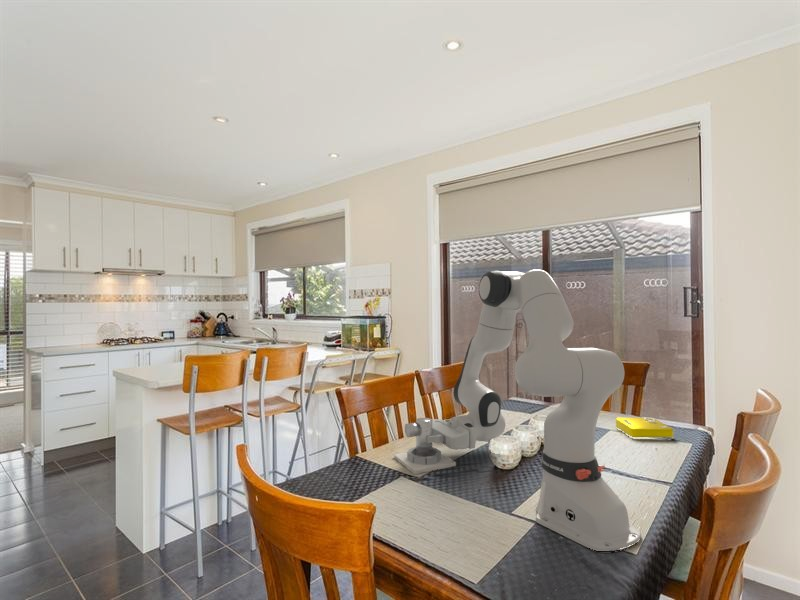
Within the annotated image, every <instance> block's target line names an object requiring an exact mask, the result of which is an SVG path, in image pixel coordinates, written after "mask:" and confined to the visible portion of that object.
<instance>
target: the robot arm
mask: <svg viewBox="0 0 800 600" xmlns="http://www.w3.org/2000/svg"><path fill="white" fill-rule="evenodd" d="M478 294H479V295H478V296H479V298H480V300H481V302H482V303H483V304H482V307H481V312H480V313H479V314H480V315H479V319H478V320H479V321H478V325H477V326H478V327H477V329H476V332H475V335H473V336H472V338H471V339H470V341H469V344H468V346H467V350H466V353H465V356H464V359H463V364H462V368H461V372H460V373H459V376H458V379H457V380H456V383H455V385H454V388H453V398H454V400H455V402H456V403H458V404H459V405H461V406H462V407H465V408H466V409H467V410H468V412H469V413H468V414H465V415H458V416H452V417H450V419H448V420H449V422H448V423H447V422H445V421H443V419H440V418H435V419H434V418H431V419H432V436H431V435H429V436H426V441H427V442H428V443H432V444H433V443H437V444H441V445H444V446H445V447H447V448H448V449H450V450H456V451H457V450H465V449H469V450H471V449H473V450H474V449H476V443H477V442H485V441H490V440H493V439H496V438H498V437H500V436H501V435H502V434H503V433H504V432H505V429H506V420H505V417H504V416H503V414H502V411H501V410H502V399H501V396H500V395H499V394H498V393H497V392H496V391H494V390H493V389H491V388H490V387H487V386H485V385H484V384H483V383H481V382H480V378H479V375H480V373H481V369H482V366H483V361H484V359H485V357H486V356H487V355H488V354H493V353H501V352H502V351H504V350H506V349H508V348H509V346H510V345H511V342H512V340H513V337H514V331H515V326H516V318H517V314H518V312H519V311H521V314H522V316H523V318H524V319H523V320H524V321H525V325H526V329H527V332H528V339H529V341H528V345H527V347H526V348H525V350H524V352H522V353H521V354H520V355H519V356H518V358H517V360H516V361H515V365H514V377H515V382H516V383H517V385H518V387H519V388H520V389H521V391H522V392H523V393H525V394H527V395H532V396H533V395H534V396H539V397H544V398H548V397H549V398H550V397H563V399H562V401H561V403H560V404H559V405H558V407H557V408H556V409H554V410H552V411H551V412H549V413H548V414H547V415H546V417H545V420H544V423H543V450H542V451H541V466H542V469H543V470H542V472H543V473H542V478H541V484H540V492H539V499H538V502H537V505H536V509H535V510H536V513H537V514H536V516H535V522H536V523H538V524H539V525H541V526H543V527H545V528H548V529H549V530H551V531H553V532H555V533H558V534H559V535H562V537H563V536H564V537H565V538H567V539H569V540H571V541H573V542H575V543H577V544H579V545H582V546H583V547H585V548H588V549H589V548H590V549H589V550H592V549H593V550H592V551H594V550H596V551H609V550H616V549H620V548H623V547H627V546H629V545H632V544H634V543H636V542H637V541H638V540H639V539H640V537H641V538H642V532H641V531H640V530H639V529H638V528H637V527H635V526H633V525H632V524H630V521H629V519H630V518H629V514H628V510H627V507H626V505H625V503H624V502H623V501H622V499H621V498H620V497H619V496H618V495H617V494H616V493H615V492H614V491H613V489H612V488H611V487H610V486H609V484H608V482H606V481H605V480H604V479H603V477H602V472H605V471H606V469H604V468H606V466H605V465H600V466H599V463H598V460H597V456H595V450H596V449H595V447H596V446H595V445H596V443H595V442H596V429H597V428H596V427H597V422H598V419H599V416H600V413H601V411H602V410H603V407H604V405H605V403H606V402H607V400H608V399H609V398H610V397H611V396H612V394H614V393H615V392H616V391H617V390H618V389H620V387H621V386H622V384H623V382H624V379H625V368H624V367H625V366H624V364H623V362H622V359H621V358H620V357H619V356H618V354H617V353H615V352H614V351H610V350H608V349H602V348H598V347H597V348H595V347H571V348H570V347H566V346H565V345H564V344H563V341H565V340H567V338H568V337H569V336H570V335H571V334H572V332H573V331H574V330H573V329H574V326H575V324H574V322H575V321H574V319H573V317H572V314H571V311H570V309H569V306H568V305H567V303H566V301H565V298H564V296H563V294H562V292H561V290H560V288H559V286H558V285H557V283H556V282H555V281H554V279H553V278H552V276H551V275H550V274H549V273H548V272H547V271H545V270H543V269H531V270H527V271H526V272H520V271H511V270H510V271H508V270H507V271H505V270H504V271H502V270H501V271H500V270H490V271H486V273H485V272H484V275H483V276H482V277H481V279H480V281H479V285H478ZM596 551H595V552H596Z"/></svg>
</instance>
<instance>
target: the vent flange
mask: <svg viewBox="0 0 800 600" xmlns="http://www.w3.org/2000/svg"><path fill="white" fill-rule="evenodd" d="M393 458H394V459H395V460H396V459H397V460H396V461H398V463H400V464H401V463H402V464H401V465H403V466H404V467H405V468H406V469H407V470H409V471H410V472H411V473H413V474H414V475H416V474H421V473H427V472H432V470H433V471H437V469H438V470H442V469H447V468H451V467H457V462H456V461H454V460H453V459H451V458H449V457H448V456H446V455H444V454H443V453H442V451H441V450H439V449H437V448H436V447H434V446H432V456H428V457H422V456H416V446H415V447H411V448H409V449H408V450H407V452H401V453H395V454H394V455H393Z"/></svg>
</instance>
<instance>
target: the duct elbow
mask: <svg viewBox="0 0 800 600" xmlns="http://www.w3.org/2000/svg"><path fill="white" fill-rule="evenodd" d="M432 419H433V418H430V417H418V418H416V419H415V422H411V423H406V424H405V426H404V433H405V435H406V437H407V438H413V437H415V445H416V446H415V447H416V456H422V457H428V456H432V447H433V442H432V443H428V442H427V441H426V436H429V435H431V436H432Z"/></svg>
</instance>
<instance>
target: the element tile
mask: <svg viewBox="0 0 800 600" xmlns="http://www.w3.org/2000/svg"><path fill="white" fill-rule="evenodd" d="M616 427H617V428H619V429H621V430H622V431H624V432H625V433H627V434H628V435H630V436H632V437H673V438H674V428H673V427H671V426H669V425H667V424H666V423H663V422H662V421H660V420H657V419H656V418H654V417H616V418H615V428H616Z"/></svg>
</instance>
